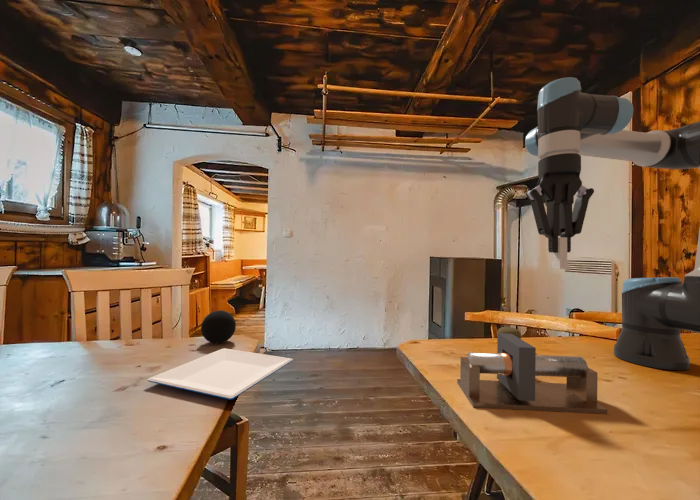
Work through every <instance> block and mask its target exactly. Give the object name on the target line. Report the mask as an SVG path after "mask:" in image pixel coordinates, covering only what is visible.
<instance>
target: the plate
mask: <svg viewBox="0 0 700 500" xmlns="http://www.w3.org/2000/svg"><path fill="white" fill-rule="evenodd" d="M293 360H294V358H291V357H284V356H283V357H282V356H279V355H278V356H276V355H272V354H271V355H270V354H265V353H258V352H253V351H251V352H250V351H244V350H238V349H232V348H231V349H230V348H225V347H224V348H221V349H218V350H216V351H213V352H210V353H208V354H205V355H203V356H201V357H198V358H195V359H194V360H190V361H188V362H185V363H183V364H181V365H179V366H175V367H173V368H171V369H168V370H166V371H163V372H161V373H159V374H158V373H157V374H155V375H152V376H151V377H149V378H147V379H146V381H147V382H148V383H149V382H150V383H153V384H157V385H162V386H167V387H171V388H176V389H180V390H186V391H189V392H194V393H199V394H202V395H208V396H210V397H211V396H212V397H215V398H216V397H217V398H221V399H225V400H230V401H231V400H235V398H237V397H238V396H240V395H241V394H243V393H245V392H246V391H248V390H249V389H251V388H252V387H254V386H255V385H257V384H259V383H260V382H262V381H264V379H266V378H268V377H269V376H271V375H273V374H274V373H276V372H278V371H279V370H281V369H282V368H284V367H285V366H287V365H288V364H290V363H292V362H293Z"/></svg>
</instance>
